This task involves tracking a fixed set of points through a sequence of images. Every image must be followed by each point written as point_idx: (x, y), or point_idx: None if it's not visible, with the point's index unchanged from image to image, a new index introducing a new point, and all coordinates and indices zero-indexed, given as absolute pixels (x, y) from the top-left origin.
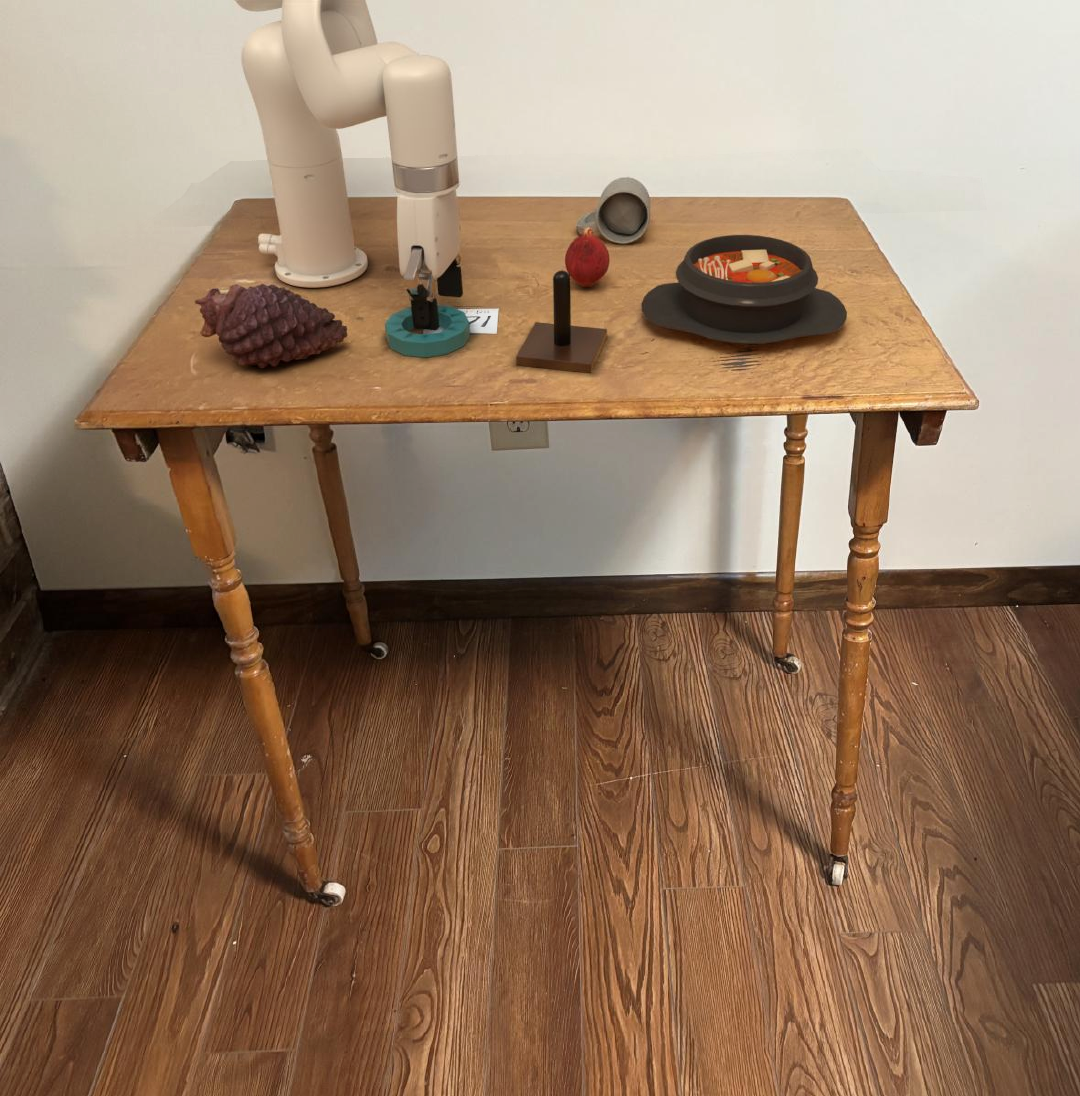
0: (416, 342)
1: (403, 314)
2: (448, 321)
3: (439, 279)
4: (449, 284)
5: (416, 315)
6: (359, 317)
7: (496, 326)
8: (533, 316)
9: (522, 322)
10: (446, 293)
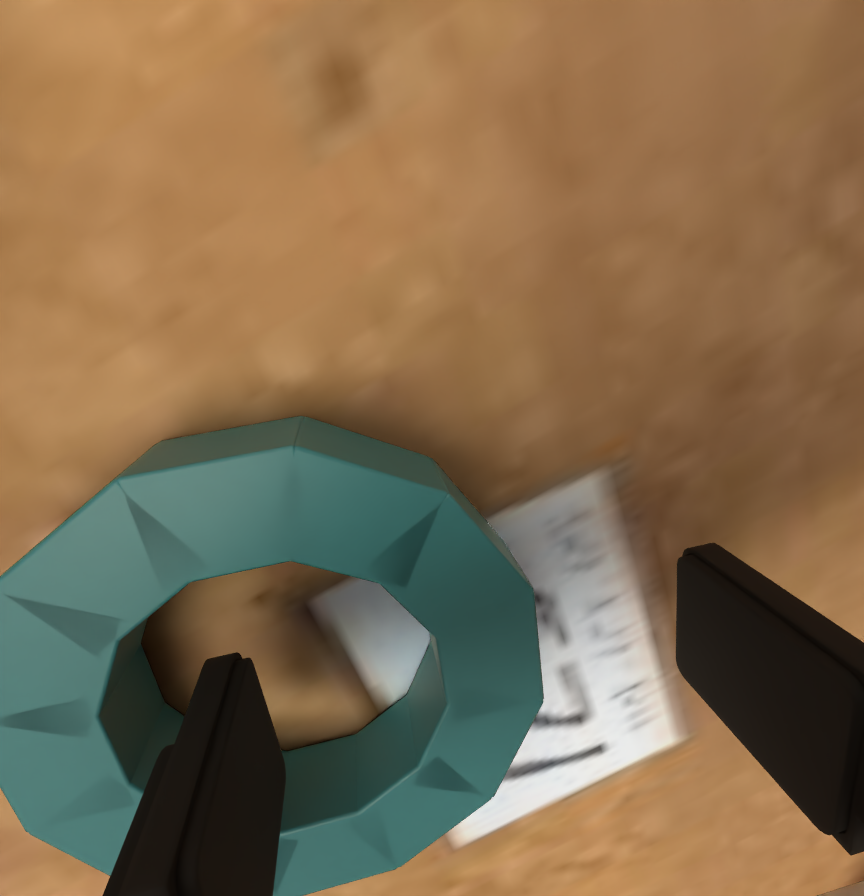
0: (7, 795)
1: (323, 524)
2: (418, 723)
3: (764, 636)
4: (735, 673)
5: (137, 809)
6: (358, 71)
7: (522, 813)
8: (642, 868)
9: (584, 865)
10: (690, 607)
